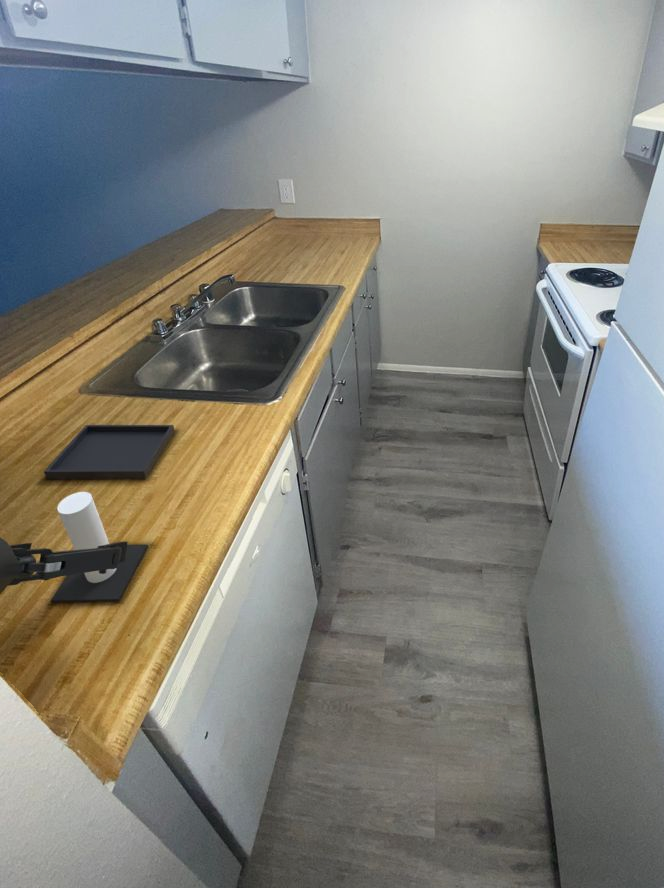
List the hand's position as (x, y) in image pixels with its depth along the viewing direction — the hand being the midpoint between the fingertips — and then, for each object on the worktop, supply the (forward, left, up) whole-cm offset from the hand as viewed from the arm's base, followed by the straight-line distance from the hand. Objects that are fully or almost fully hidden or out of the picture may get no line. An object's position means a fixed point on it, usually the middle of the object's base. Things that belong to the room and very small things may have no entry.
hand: (75, 552), depth 69 cm
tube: (0, +3, -9) cm, 9 cm away
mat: (0, +3, -9) cm, 9 cm away
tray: (-12, +32, -9) cm, 36 cm away
